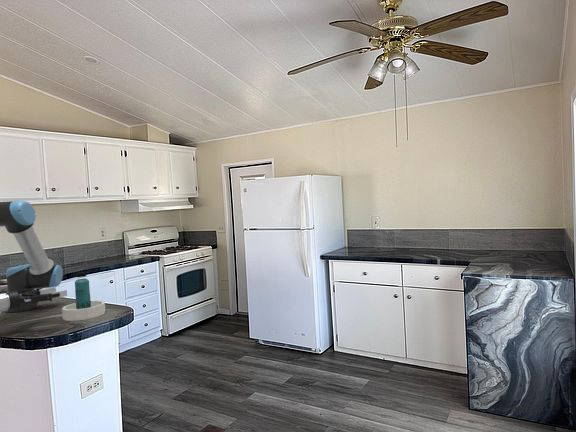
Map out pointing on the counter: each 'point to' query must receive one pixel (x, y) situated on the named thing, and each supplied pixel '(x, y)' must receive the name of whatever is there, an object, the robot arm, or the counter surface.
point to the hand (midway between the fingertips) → (61, 291)
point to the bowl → (83, 311)
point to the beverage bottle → (82, 292)
